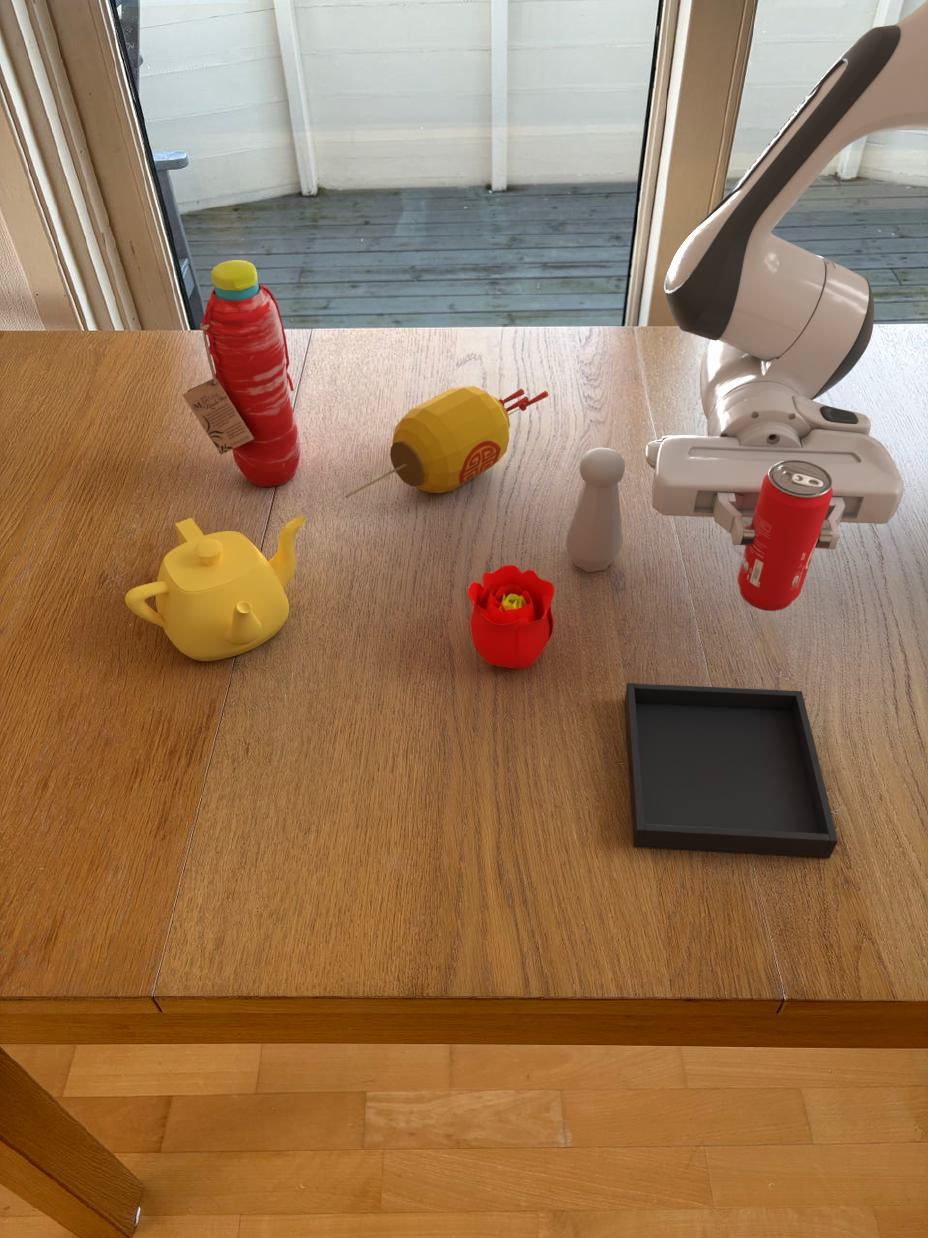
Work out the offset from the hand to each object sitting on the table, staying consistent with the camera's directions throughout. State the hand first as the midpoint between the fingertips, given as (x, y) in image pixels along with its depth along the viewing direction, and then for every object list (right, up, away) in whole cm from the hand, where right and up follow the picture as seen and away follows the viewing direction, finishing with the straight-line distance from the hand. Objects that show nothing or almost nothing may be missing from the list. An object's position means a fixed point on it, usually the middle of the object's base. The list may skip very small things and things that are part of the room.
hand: (786, 541), depth 75 cm
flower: (-21, -9, +15) cm, 28 cm away
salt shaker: (-12, 0, +25) cm, 27 cm away
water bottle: (-49, +10, +35) cm, 61 cm away
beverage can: (0, -4, +5) cm, 7 cm away
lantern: (-27, +10, +35) cm, 46 cm away
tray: (-4, -19, +5) cm, 20 cm away
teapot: (-48, -7, +18) cm, 52 cm away
